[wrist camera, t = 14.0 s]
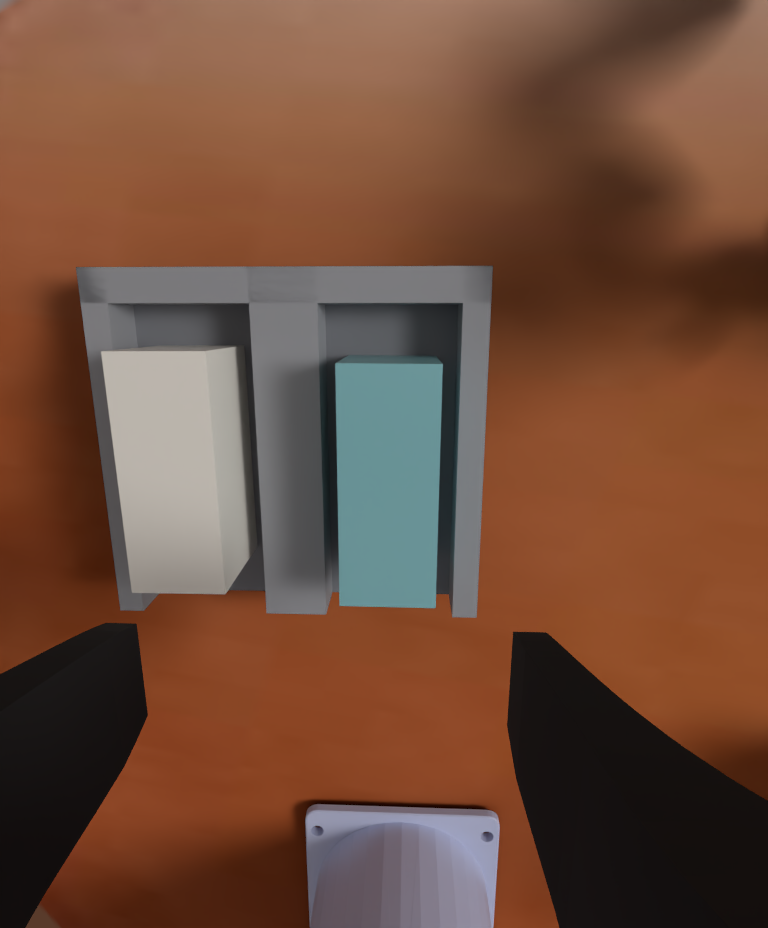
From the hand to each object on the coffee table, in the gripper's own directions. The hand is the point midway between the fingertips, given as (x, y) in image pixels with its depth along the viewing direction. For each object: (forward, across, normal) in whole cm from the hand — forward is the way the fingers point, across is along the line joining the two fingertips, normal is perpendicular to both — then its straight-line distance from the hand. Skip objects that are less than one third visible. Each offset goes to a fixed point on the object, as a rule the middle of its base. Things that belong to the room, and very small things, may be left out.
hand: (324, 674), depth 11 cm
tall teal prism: (+9, -1, -2) cm, 9 cm away
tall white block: (+9, +5, -2) cm, 11 cm away
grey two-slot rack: (+10, +2, -2) cm, 10 cm away
